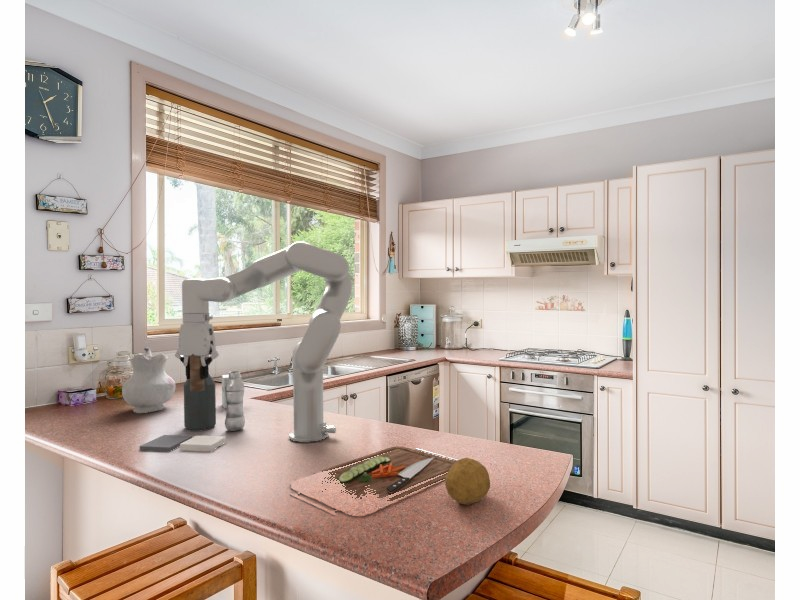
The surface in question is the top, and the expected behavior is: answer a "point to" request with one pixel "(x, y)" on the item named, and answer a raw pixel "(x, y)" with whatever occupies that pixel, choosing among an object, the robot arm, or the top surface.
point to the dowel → (195, 374)
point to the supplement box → (224, 382)
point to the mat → (165, 443)
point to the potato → (467, 481)
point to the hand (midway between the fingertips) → (197, 377)
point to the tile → (203, 443)
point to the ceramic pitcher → (148, 383)
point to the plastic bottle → (234, 402)
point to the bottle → (200, 406)
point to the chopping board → (391, 471)
